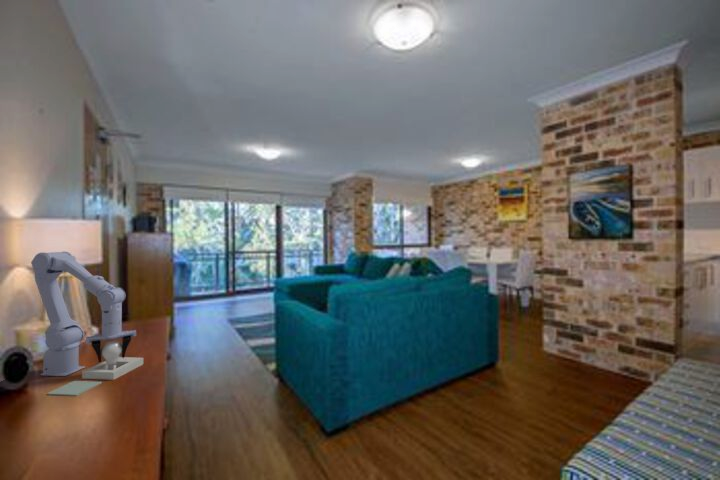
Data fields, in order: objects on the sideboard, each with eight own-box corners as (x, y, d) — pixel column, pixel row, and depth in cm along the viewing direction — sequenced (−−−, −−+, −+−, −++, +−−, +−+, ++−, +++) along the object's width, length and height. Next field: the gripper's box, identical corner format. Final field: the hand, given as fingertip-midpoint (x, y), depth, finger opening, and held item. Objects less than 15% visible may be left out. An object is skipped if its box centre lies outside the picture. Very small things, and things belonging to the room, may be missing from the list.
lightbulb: (110, 375, 114) (109, 344, 114) (96, 373, 116) (95, 343, 115) (127, 368, 120) (126, 339, 120) (114, 366, 122) (113, 337, 122)
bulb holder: (82, 378, 112) (82, 371, 112) (115, 363, 126) (115, 356, 126) (113, 379, 112) (113, 372, 112) (143, 364, 126) (143, 357, 126)
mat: (46, 394, 101) (46, 393, 101) (74, 381, 110) (74, 380, 110) (76, 395, 100) (76, 394, 100) (101, 383, 109) (101, 381, 109)
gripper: (85, 327, 110) (85, 367, 110) (137, 321, 119) (136, 357, 119) (86, 323, 116) (85, 361, 116) (135, 317, 125) (135, 352, 125)
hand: (111, 359), depth 118 cm, fingers closed on lightbulb, 6 cm apart
